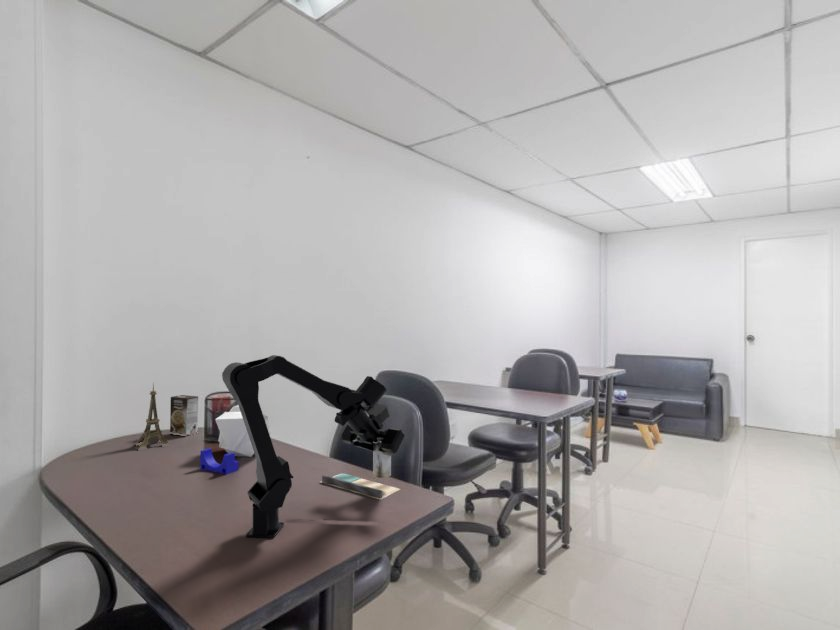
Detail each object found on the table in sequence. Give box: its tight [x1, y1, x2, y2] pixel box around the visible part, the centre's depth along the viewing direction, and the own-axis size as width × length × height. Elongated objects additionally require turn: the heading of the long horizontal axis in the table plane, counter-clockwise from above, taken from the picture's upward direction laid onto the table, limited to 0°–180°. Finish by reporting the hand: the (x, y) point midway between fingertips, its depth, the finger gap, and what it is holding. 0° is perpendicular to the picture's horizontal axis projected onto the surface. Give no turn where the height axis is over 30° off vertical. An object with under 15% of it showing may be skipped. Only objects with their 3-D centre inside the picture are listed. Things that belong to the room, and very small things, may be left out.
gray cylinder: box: [372, 440, 392, 479], centre depth 125 cm, size 5×5×11 cm
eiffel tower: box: [136, 383, 169, 448], centre depth 171 cm, size 11×11×25 cm
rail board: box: [320, 473, 401, 501], centre depth 127 cm, size 23×9×3 cm, turn 56°
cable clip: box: [199, 448, 239, 475], centre depth 143 cm, size 12×4×6 cm, turn 65°
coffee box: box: [169, 394, 199, 434], centre depth 188 cm, size 9×6×16 cm
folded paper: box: [215, 404, 271, 458], centre depth 161 cm, size 17×24×17 cm
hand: (385, 452), depth 126 cm, fingers closed on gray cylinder, 5 cm apart
